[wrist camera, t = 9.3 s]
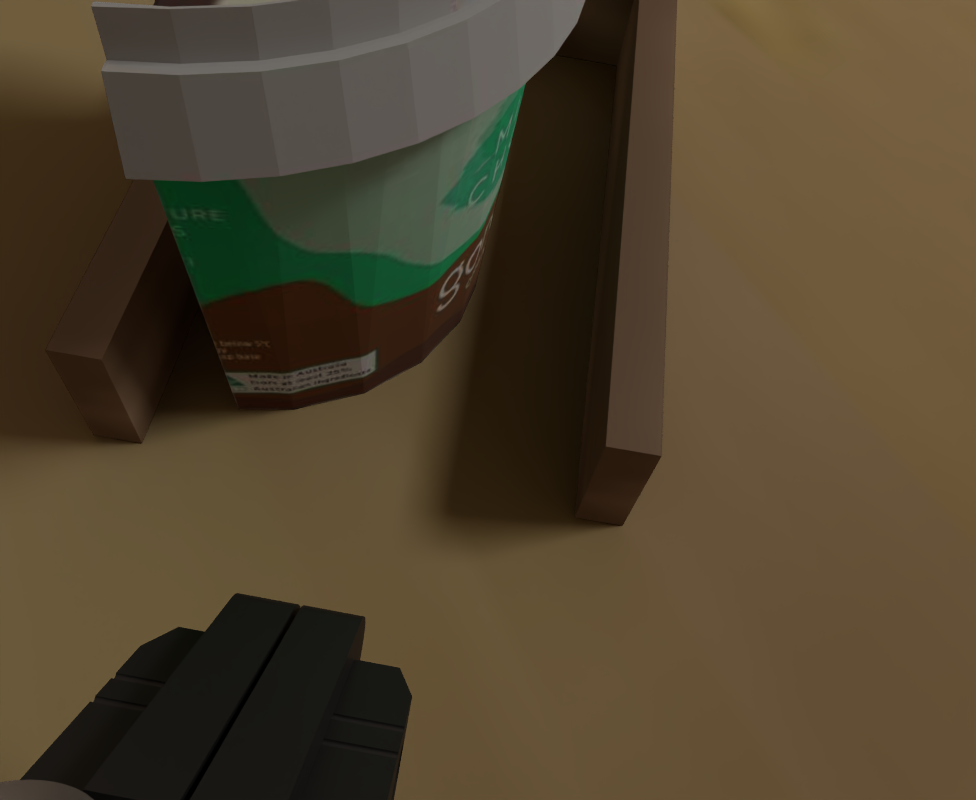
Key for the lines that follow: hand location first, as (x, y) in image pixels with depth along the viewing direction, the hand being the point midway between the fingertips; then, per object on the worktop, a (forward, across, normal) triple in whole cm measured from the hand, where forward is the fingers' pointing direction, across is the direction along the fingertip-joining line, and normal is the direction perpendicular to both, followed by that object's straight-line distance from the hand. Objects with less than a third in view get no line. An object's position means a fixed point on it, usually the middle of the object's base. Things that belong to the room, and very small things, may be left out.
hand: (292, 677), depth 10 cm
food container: (+12, +1, -4) cm, 13 cm away
